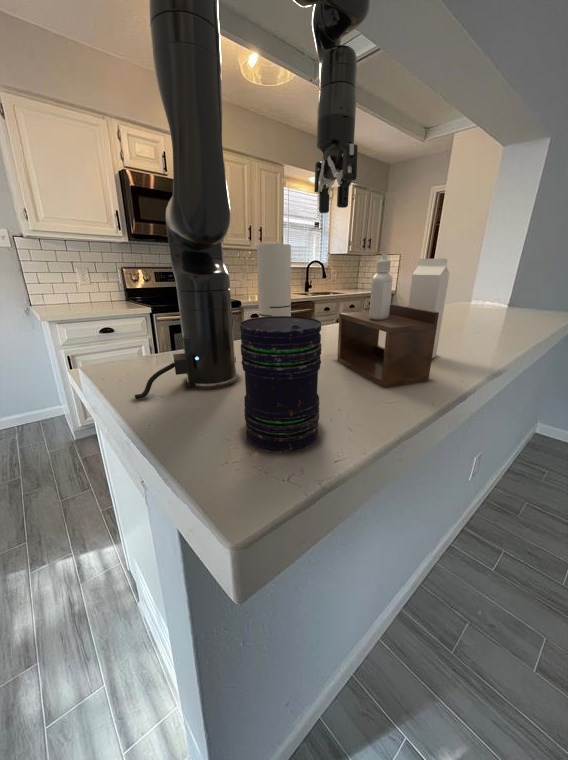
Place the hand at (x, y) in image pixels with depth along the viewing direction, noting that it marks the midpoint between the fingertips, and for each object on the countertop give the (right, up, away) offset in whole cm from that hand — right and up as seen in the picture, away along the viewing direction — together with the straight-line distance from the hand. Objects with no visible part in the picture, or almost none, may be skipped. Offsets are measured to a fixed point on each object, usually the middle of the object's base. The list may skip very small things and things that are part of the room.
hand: (332, 210), depth 70 cm
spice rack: (+9, -35, -2) cm, 36 cm away
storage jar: (-11, -44, -26) cm, 53 cm away
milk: (+22, -31, +7) cm, 39 cm away
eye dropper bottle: (+8, -25, -6) cm, 27 cm away
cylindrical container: (-13, -32, +6) cm, 35 cm away
